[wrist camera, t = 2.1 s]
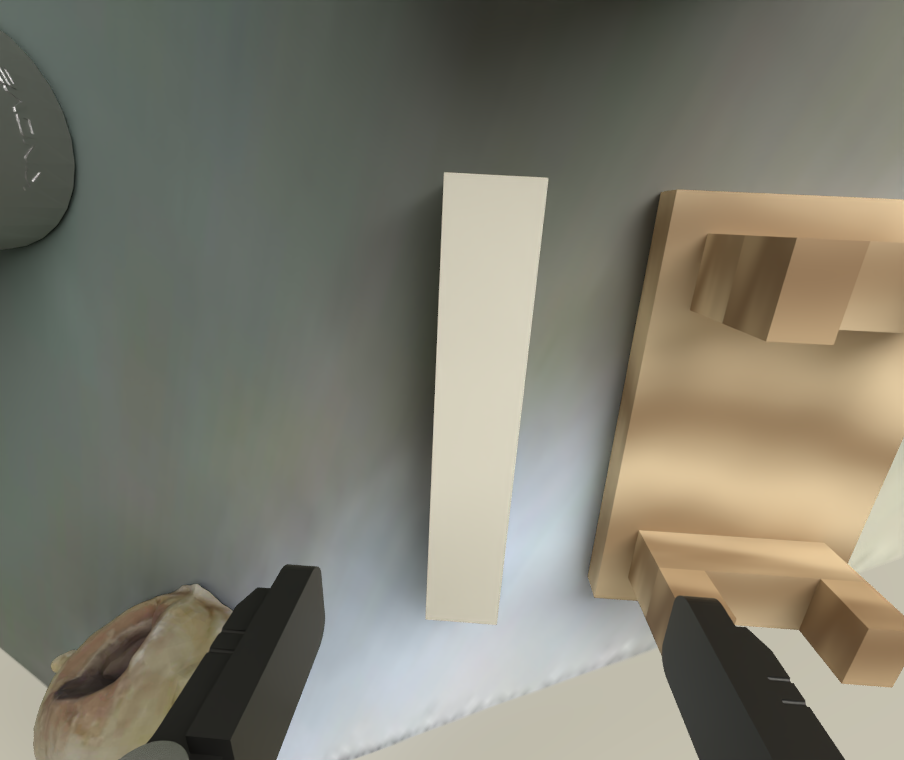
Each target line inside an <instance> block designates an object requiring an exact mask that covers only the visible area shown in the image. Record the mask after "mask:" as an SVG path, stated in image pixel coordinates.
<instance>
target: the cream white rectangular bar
mask: <svg viewBox="0 0 904 760" xmlns="http://www.w3.org/2000/svg"><path fill="white" fill-rule="evenodd" d="M547 187H548V178H542V177H523V176H504V175H485V174H466V173H447V172H444V186H443V210H442V234H441V259H440V283H439V307H438V331H437V355H436V379H435V403H434V427H433V451H432V475H431V500H430V524H429V548H428V572H427V596H426V619H428V620H441V621H454V622H467V623H479V624H492V625H497V617H498V609H499V600H500V591H501V583H502V574H503V565H504V557H505V548H506V540H507V531H508V522H509V514H510V505H511V497H512V488H513V479H514V471H515V462H516V454H517V445H518V436H519V428H520V419H521V411H522V402H523V393H524V385H525V376H526V367H527V359H528V350H529V342H530V333H531V324H532V316H533V307H534V299H535V290H536V281H537V273H538V264H539V256H540V247H541V238H542V230H543V221H544V213H545V204H546V195H547Z"/></svg>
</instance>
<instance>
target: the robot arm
mask: <svg viewBox="0 0 904 760" xmlns="http://www.w3.org/2000/svg"><path fill="white" fill-rule="evenodd" d="M74 169H75V163H74V155H73V148H72V140H71V136H70V133H69V130H68V127H67V124H66V120H65V117H64V114H63V111H62V109H61V107H60V105H59V103H58V101H57V99H56V97H55V95H54V93H53V91H52V89H51V87H50V85H49V84H48V82H47V81H46V80H45V78H44V77H43V75H42V74H41V72H40V71H39V70H38V68H37V67H36V65H35V64H34V62H33V61H32V60H31V59H30V58H29V57H28V56H27V54H26V53H25V52H24V51H23V50H22V49H21V48H20V47H19V46H18V45H17V44H16V43H15V42H14V41H13V40H12V39H11V38H10V37H9V36H8V35H6V34H5V33H4V32H2V31H1V30H0V250H2V249H11V248H17V247H23V246H27V245H29V244H31V243H33V242H35V241H38V240H40V239H42V238H44V237H45V236H46V235H47V234H48V233H49V232H50V231H51V230H52V229H53V228H55V227H56V226H57V225H58V223H59V221H60V220H61V218H62V216H63V215H64V213H65V211H66V210H67V208H68V204H69V201H70V198H71V194H72V191H73V185H74ZM324 624H325V611H324V600H323V589H322V577H321V570H320V568H319V567H315V566H301V565H288V564H287V565H285V566H284V567H283V568H282V569H281V571H280V573H279V574H278V576H277V578H276V580H275V581H274V583H273V585H272V586H271V588H256V589H255V590H254V591H253V592H252V593H251V594H249V595H248V596H247V597H246V598H245V599H244V600H243V601H241V602H240V603H239V604H238V605H237V606H236V607H235V609H234V610H233V612H232V613H231V615H230V617H229V618H228V620H227V621H226V623H225V624H224V626H223V627H222V631H221V633H219V634H218V635H217V637H216V638H215V640H214V641H213V643H212V645H211V646H210V649H209V652H208V653H206V654H205V656H204V657H203V659H202V660H201V662H200V663H199V665H198V666H197V668H196V670H195V671H194V673H193V674H192V676H191V677H190V679H189V680H188V682H187V684H186V685H185V687H184V688H183V690H182V691H181V693H180V694H179V696H178V698H177V699H176V701H175V702H174V704H173V705H172V707H171V708H170V710H169V712H168V713H167V715H166V716H165V718H164V719H163V721H162V723H161V724H160V726H159V727H158V729H157V730H156V732H155V733H154V734H153V736H152V737H151V738H150V739H149V741H148V742H147V743H146V744H144V745H142V746H140V747H138V748H136V749H134V750H132V751H130V752H129V753H127V754H126V755H124V756H123V757H121V758H120V759H118V760H276V759H277V756H278V754H279V751H280V749H281V746H282V743H283V741H284V738H285V736H286V733H287V730H288V728H289V725H290V723H291V720H292V717H293V715H294V712H295V710H296V707H297V704H298V702H299V699H300V697H301V694H302V691H303V689H304V686H305V683H306V681H307V678H308V676H309V673H310V670H311V668H312V665H313V663H314V660H315V657H316V655H317V652H318V650H319V647H320V644H321V640H322V636H323V631H324ZM662 661H663V667H664V672H665V675H666V678H667V680H668V683H669V685H670V688H671V690H672V693H673V695H674V698H675V700H676V703H677V705H678V708H679V710H680V713H681V715H682V718H683V720H684V723H685V725H686V728H687V730H688V733H689V735H690V738H691V740H692V742H693V745H694V748H695V750H696V753H697V755H698V758H699V760H845V759H844V757H843V756H842V754H841V753H840V752H839V750H838V749H837V747H836V746H835V744H834V743H833V741H832V740H831V738H830V737H829V735H828V734H827V732H826V731H825V729H824V728H823V726H822V725H821V723H820V722H819V720H818V719H817V718H816V716H815V714H814V713H813V711H812V710H811V709H810V707H807V706H806V704H805V700H804V698H803V697H802V695H801V694H800V692H799V691H798V689H797V688H796V686H795V685H794V683H791V682H790V677H789V676H788V674H787V673H786V672H785V670H784V668H783V667H782V666H781V664H780V663H779V661H778V660H777V658H776V657H775V655H774V654H773V652H772V651H771V650H770V649H769V648H768V647H767V646H766V645H765V644H764V643H762V642H761V641H760V640H759V639H758V638H757V637H756V636H755V635H754V634H753V633H752V632H751V631H750V630H748V629H747V628H746V627H736V626H735V624H734V623H733V621H732V620H731V618H730V616H729V615H728V613H727V612H726V610H725V608H724V607H723V605H722V604H721V603H720V602H719V601H718V600H717V599H715V598H707V597H694V596H680V595H679V596H677V597H676V598H675V600H674V603H673V607H672V611H671V615H670V618H669V622H668V626H667V629H666V633H665V637H664V641H663V645H662Z"/></svg>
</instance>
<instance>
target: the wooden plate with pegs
mask: <svg viewBox="0 0 904 760" xmlns="http://www.w3.org/2000/svg"><path fill="white" fill-rule="evenodd" d="M903 437H904V200H900V199H878V198H855V197H833V196H810V195H788V194H765V193H743V192H720V191H697V190H671V191H665V192H661V195H660V200H659V205H658V211H657V216H656V221H655V226H654V232H653V237H652V242H651V247H650V253H649V258H648V263H647V268H646V273H645V279H644V284H643V289H642V294H641V300H640V305H639V310H638V315H637V321H636V326H635V331H634V336H633V341H632V347H631V352H630V357H629V362H628V368H627V373H626V378H625V383H624V389H623V394H622V399H621V404H620V409H619V415H618V420H617V425H616V430H615V436H614V441H613V446H612V451H611V457H610V462H609V467H608V472H607V477H606V483H605V488H604V493H603V498H602V504H601V509H600V514H599V519H598V525H597V530H596V535H595V540H594V545H593V551H592V556H591V561H590V566H589V572H588V579H589V582H590V585H591V588H592V592H593V595H594V598H606V599H620V600H633V601H638V602H639V604H640V607H641V609H642V611H643V614H644V616H645V618H646V620H647V623H648V625H649V627H650V630H651V632H652V634H653V637H654V639H655V641H656V644H657V646H658V648H659V651H660V653H661V655H662V645H663V641H664V637H665V633H666V629H667V626H668V622H669V618H670V615H671V611H672V607H673V603H674V600H675V598H676V597H677V596H679V595H680V596H694V597H707V598H715V599H717V600H718V601H719V602H720V603H721V604H722V605H723V607H724V608H725V610H726V612H727V613H728V615H729V616H730V618H731V620H732V621H733V623H734V624H735V625H740V626H753V627H754V626H755V627H767V628H781V629H794V630H799V631H800V632H801V633H802V634H803V636H804V637H805V638H806V639H807V641H808V642H809V643H810V644H811V645H812V647H813V648H814V649H815V651H816V652H817V653H818V654H819V656H820V657H821V658H822V659H823V661H824V662H825V663H826V664H827V666H828V667H829V668H830V669H831V671H832V672H833V673H834V674H835V676H836V677H837V678H838V680H839V681H840V682H841V683H842V684H855V685H867V686H880V687H893V685H894V683H895V681H896V680H897V678H898V676H899V674H900V672H901V671H902V669H903V667H904V615H903V614H901V613H900V612H899V611H898V610H897V609H896V608H895V607H894V606H893V605H892V604H891V603H890V602H888V601H887V600H886V599H885V598H884V597H883V596H882V595H881V594H880V593H879V592H877V591H876V590H875V589H874V588H873V587H872V586H871V585H870V584H869V583H868V582H867V581H865V580H864V579H863V578H862V577H861V576H860V575H859V574H858V573H857V572H856V571H855V570H854V569H852V568H851V567H850V566H849V565H848V561H849V559H850V557H851V555H852V552H853V550H854V548H855V546H856V543H857V541H858V539H859V537H860V534H861V532H862V530H863V528H864V525H865V523H866V521H867V519H868V516H869V514H870V512H871V509H872V507H873V505H874V503H875V500H876V498H877V496H878V494H879V491H880V489H881V487H882V485H883V482H884V480H885V478H886V476H887V473H888V471H889V469H890V467H891V464H892V462H893V460H894V458H895V455H896V453H897V451H898V449H899V446H900V444H901V442H902V440H903Z"/></svg>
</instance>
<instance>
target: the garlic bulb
mask: <svg viewBox="0 0 904 760" xmlns="http://www.w3.org/2000/svg"><path fill="white" fill-rule="evenodd" d="M232 612H233V611H232V610H231V609H230V608H229V607H227V606H225V605H223V604H221V603H220V602H219V601H218V600H217V599H216V598H215V597H214V596H213V595H212V594H211V593H210V592H209V591H207V590H205V589H203V588H202V587H201V586H200V585H198V584H193V585H191V586H190V585H183V586H181V587H180V589H178V590H176V591H175V592H172V593H169V594H164V595H161V596H157V597H155V598H153V599H150V600H148V601H145V602H142V603H140V604H138V605H136V606H133V607H132V608H130V609H128V610H126V611H125V612H123V613H122V614H121V615H119V616H118V617H116V618H115V619H114V620H112V621H111V622H110V623H108V624H107V625H105V626H104V627H102V628H101V629H99V630H98V631H96V632H95V633H94V634H92V635H91V636H90V637H89V638H88V639H87V640H86V641H85V642H84V643H83V644H82V645H81V646H80V647H79V648H78V649H77V651H76V650H71V651H69V652H67V653H65V654H62V655H60V656H58V657H57V658H56V659H54V660H53V662H52V664H51V669H52V670H53V672H55V673H57V674H56V675H55V676H54V678H53V679H52V681H51V683H50V685H49V687H48V689H47V691H46V694H45V696H44V698H43V701H42V703H41V705H40V709H39V711H38V715H37V718H36V722H35V726H34V742H33V746H34V754H35V757H36V760H118V759H120V758H121V757H123V756H124V755H126V754H127V753H129V752H130V751H132V750H134V749H136V748H138V747H140V746H142V745H144V744H146V743H147V742H148V741H149V739H150V738H151V737H152V736H153V734H154V733H155V732H156V730H157V729H158V727H159V726H160V724H161V723H162V721H163V719H164V718H165V716H166V715H167V713H168V712H169V710H170V708H171V707H172V705H173V704H174V702H175V701H176V699H177V698H178V696H179V694H180V693H181V691H182V690H183V688H184V687H185V685H186V684H187V682H188V680H189V679H190V677H191V676H192V674H193V673H194V671H195V670H196V668H197V666H198V665H199V663H200V662H201V660H202V659H203V657H204V656H205V654H206V653H208V652H209V649H210V646H211V645H212V643H213V641H214V640H215V638H216V637H217V635H218V634H219V633H221V631H222V627H223V626H224V624H225V623H226V621H227V620H228V618H229V617H230V615H231V613H232Z"/></svg>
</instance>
